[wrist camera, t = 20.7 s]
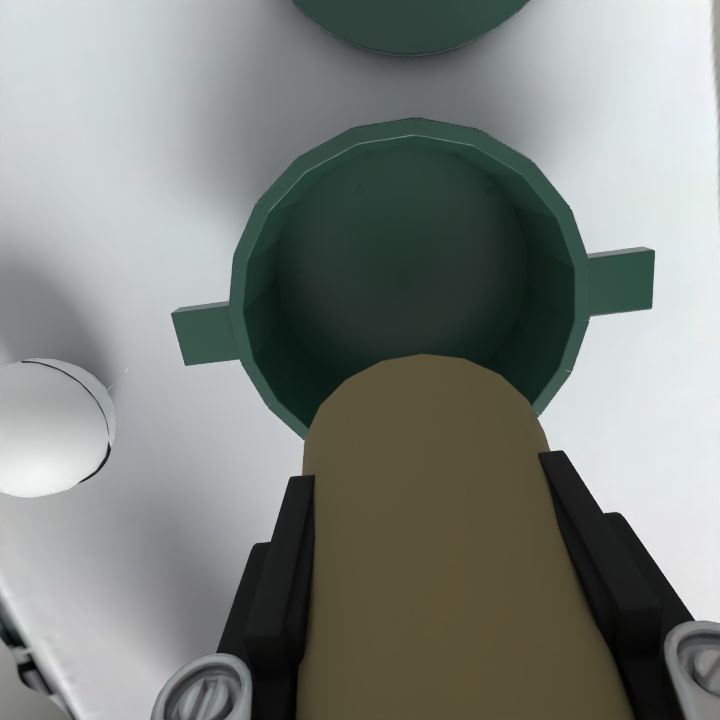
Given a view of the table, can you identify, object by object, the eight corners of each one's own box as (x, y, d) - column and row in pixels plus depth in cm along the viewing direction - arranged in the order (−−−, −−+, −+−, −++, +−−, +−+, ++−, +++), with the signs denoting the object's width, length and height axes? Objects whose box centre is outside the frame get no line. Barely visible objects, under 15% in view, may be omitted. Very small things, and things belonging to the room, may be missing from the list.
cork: (557, 349, 12) (2015, 1866, 1) (538, 564, 14) (1019, 1782, 3) (290, 358, 12) (-309, 1618, 2) (312, 566, 14) (118, 1683, 4)
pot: (191, 165, 26) (120, 164, 19) (591, 102, 24) (675, 75, 17) (251, 417, 31) (212, 490, 24) (588, 379, 29) (653, 447, 22)
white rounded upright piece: (62, 467, 33) (-24, 546, 26) (-7, 364, 30) (-121, 422, 23) (200, 417, 31) (148, 488, 24) (138, 305, 29) (60, 348, 22)
